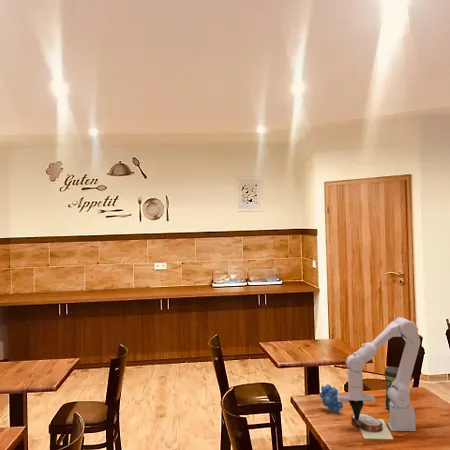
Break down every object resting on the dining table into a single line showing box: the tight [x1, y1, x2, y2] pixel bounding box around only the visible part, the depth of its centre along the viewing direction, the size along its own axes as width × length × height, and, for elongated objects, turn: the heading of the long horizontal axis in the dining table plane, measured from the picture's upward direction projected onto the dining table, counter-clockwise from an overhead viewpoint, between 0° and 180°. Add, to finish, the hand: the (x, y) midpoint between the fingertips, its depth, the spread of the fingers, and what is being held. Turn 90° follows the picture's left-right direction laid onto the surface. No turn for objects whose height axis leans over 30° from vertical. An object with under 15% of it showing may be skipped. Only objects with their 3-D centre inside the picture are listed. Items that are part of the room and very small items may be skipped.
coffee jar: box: [384, 366, 399, 411], centre depth 220 cm, size 10×8×19 cm
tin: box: [350, 412, 383, 432], centre depth 201 cm, size 15×3×8 cm
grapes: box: [319, 383, 344, 414], centre depth 218 cm, size 12×7×12 cm, turn 46°
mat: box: [359, 418, 395, 441], centre depth 198 cm, size 11×20×1 cm, turn 174°
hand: (356, 419), depth 199 cm, fingers closed
